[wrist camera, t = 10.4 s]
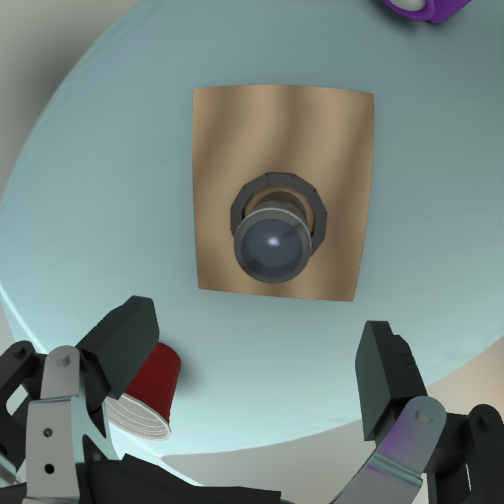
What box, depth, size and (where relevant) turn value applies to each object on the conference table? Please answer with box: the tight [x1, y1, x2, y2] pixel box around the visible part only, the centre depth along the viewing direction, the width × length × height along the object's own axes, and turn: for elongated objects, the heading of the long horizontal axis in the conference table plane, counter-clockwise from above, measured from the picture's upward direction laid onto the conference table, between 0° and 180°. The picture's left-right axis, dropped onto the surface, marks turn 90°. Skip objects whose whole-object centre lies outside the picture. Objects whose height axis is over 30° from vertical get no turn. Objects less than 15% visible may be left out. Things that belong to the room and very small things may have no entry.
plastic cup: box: [104, 342, 180, 441], centre depth 30 cm, size 11×11×12 cm
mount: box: [193, 85, 374, 302], centre depth 23 cm, size 16×20×3 cm
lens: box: [234, 191, 311, 284], centre depth 20 cm, size 5×5×8 cm
